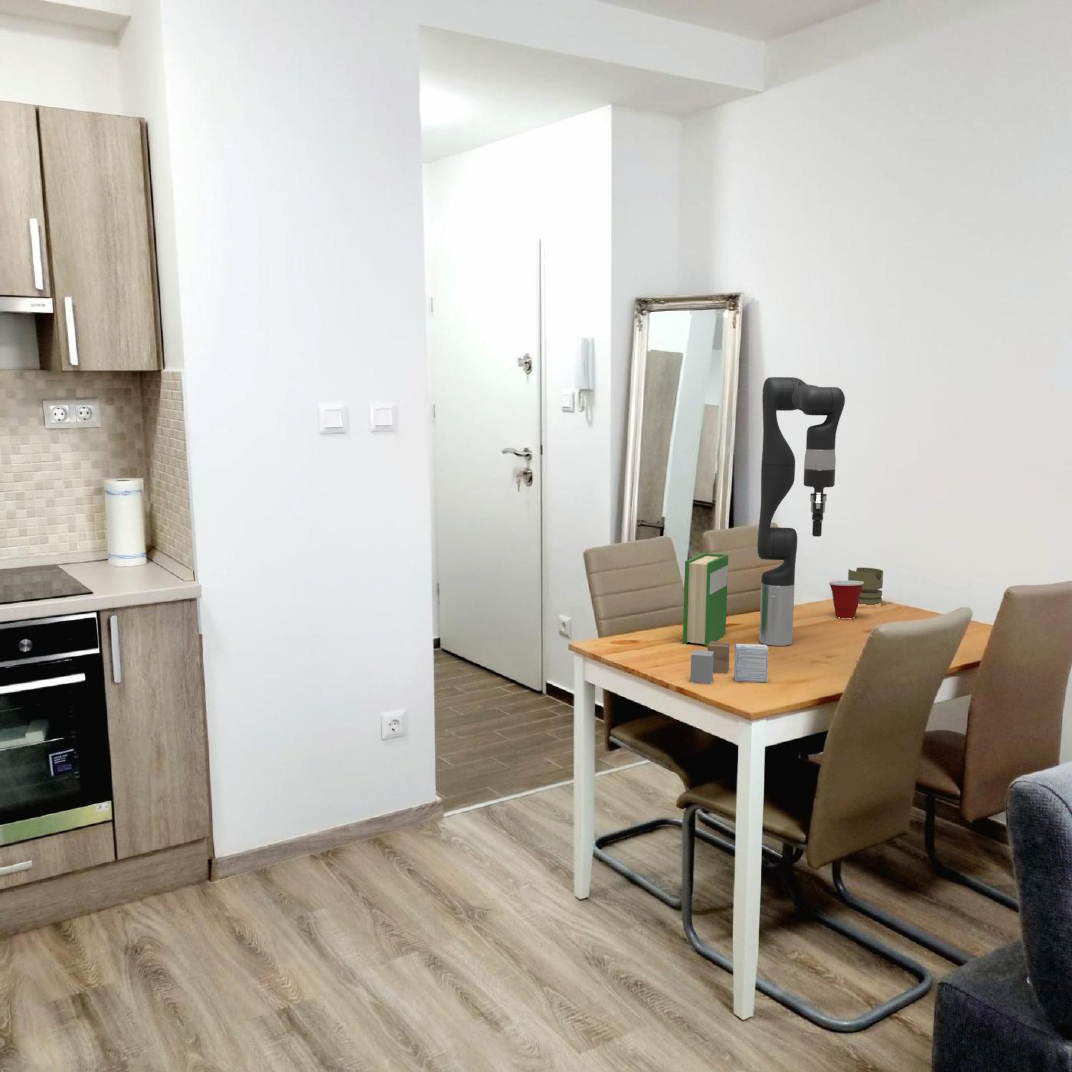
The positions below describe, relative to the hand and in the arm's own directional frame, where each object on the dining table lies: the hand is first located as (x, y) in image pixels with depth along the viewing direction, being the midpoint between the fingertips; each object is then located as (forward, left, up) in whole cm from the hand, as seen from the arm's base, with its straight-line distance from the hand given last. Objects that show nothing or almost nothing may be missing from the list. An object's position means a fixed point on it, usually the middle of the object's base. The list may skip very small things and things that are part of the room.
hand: (816, 536), depth 259 cm
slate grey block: (+17, -26, -35) cm, 47 cm away
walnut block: (+6, -23, -35) cm, 42 cm away
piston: (-97, +17, -35) cm, 105 cm away
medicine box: (+13, -14, -35) cm, 40 cm away
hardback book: (-28, -30, -35) cm, 54 cm away
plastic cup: (-72, +10, -35) cm, 81 cm away
